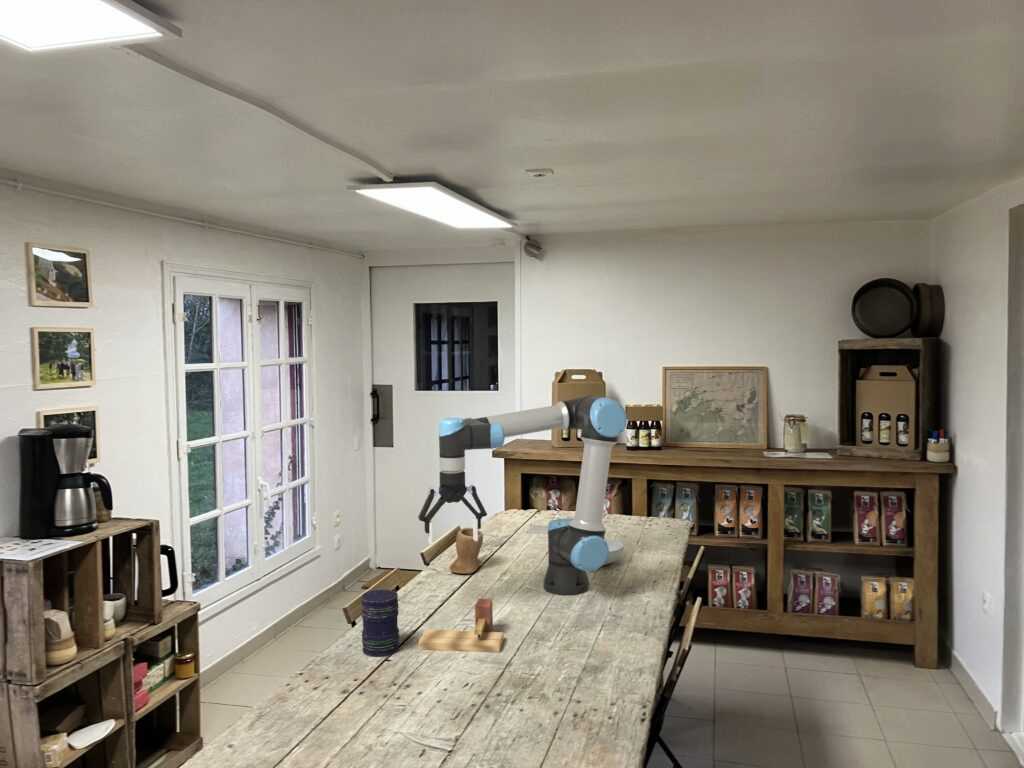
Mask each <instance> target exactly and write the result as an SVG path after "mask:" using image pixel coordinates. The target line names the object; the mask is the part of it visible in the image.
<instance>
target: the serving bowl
mask: <svg viewBox="0 0 1024 768" xmlns="http://www.w3.org/2000/svg"><path fill="white" fill-rule="evenodd" d="M604 540H605V541H606V543H607V545H608V548H609V554H608V558H607V560H606V562H605V563H604V564H603V565H602V566H605V565H608V564H612V563H615V562H616V561H618V559H619V558H621V556H622V554H623V550H624V544H623V543H622V542H620V541H618V540H616V539H612V538H605V537H604Z"/></svg>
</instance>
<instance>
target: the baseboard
mask: <svg viewBox="0 0 1024 768" xmlns="http://www.w3.org/2000/svg"><path fill="white" fill-rule="evenodd" d="M527 534H535V535H536V534H537V535H538V534H539V535H548V525H541V524H540V525H539V524H536V522H535V523H533V524H532V523H531V524H530V525H529V527H528V529H527Z"/></svg>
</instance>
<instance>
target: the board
mask: <svg viewBox="0 0 1024 768" xmlns="http://www.w3.org/2000/svg"><path fill="white" fill-rule="evenodd" d="M503 642H504V632H503V631H501V632H500V631H498V632H497V631H492V632H482V634H481V635H480V638H478V635H474V631H473V630H472V631H471V630H469V631H468V630H445V629H444V630H442V629H425V630H424V631H423V634H422V635H421V636H420V638H419V640H418V641H417V649H418V650H421V651H422V650H424V651H445V652H446V651H450V652H451V651H453V652H475V653H477V652H479V653H500V652H501V648H502V645H503Z"/></svg>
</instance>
